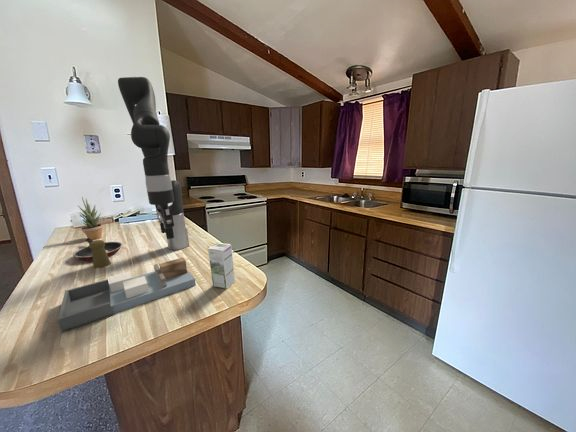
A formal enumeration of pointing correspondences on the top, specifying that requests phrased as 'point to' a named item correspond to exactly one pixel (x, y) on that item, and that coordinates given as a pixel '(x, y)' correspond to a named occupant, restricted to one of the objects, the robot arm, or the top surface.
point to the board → (150, 290)
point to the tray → (85, 305)
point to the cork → (99, 254)
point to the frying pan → (87, 252)
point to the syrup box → (221, 265)
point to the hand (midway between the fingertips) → (167, 235)
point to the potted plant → (91, 223)
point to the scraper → (170, 270)
